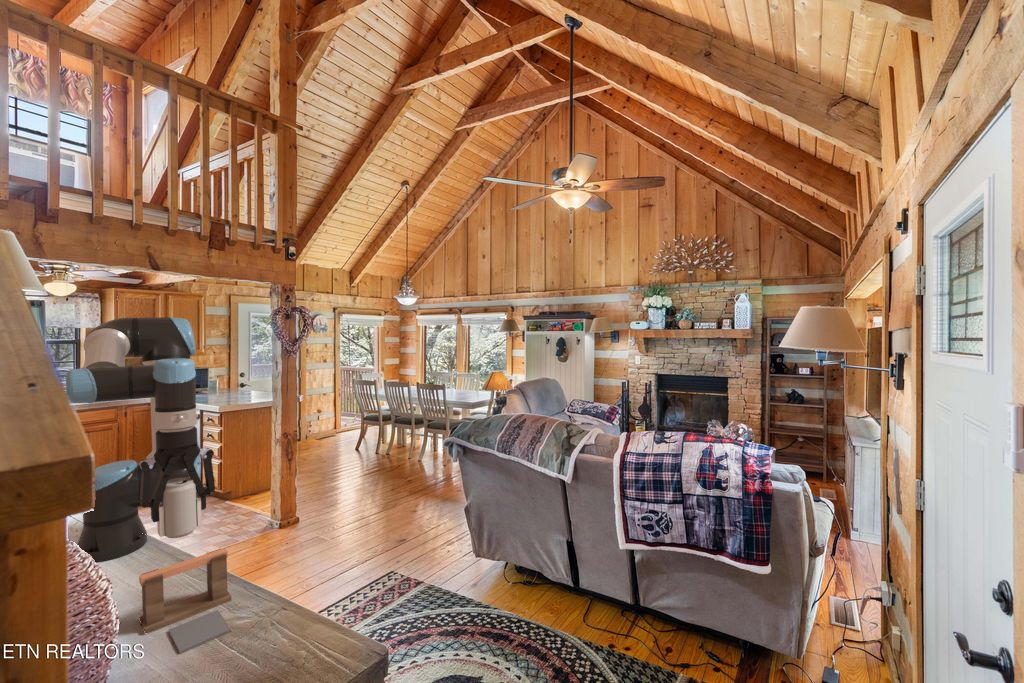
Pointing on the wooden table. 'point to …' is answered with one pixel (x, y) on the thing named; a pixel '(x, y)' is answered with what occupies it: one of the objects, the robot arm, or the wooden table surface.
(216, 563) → the walnut stand
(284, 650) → the wooden table surface
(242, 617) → the wooden table surface
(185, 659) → the wooden table surface
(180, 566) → the crossbar
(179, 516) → the beverage can
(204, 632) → the rubber mat
